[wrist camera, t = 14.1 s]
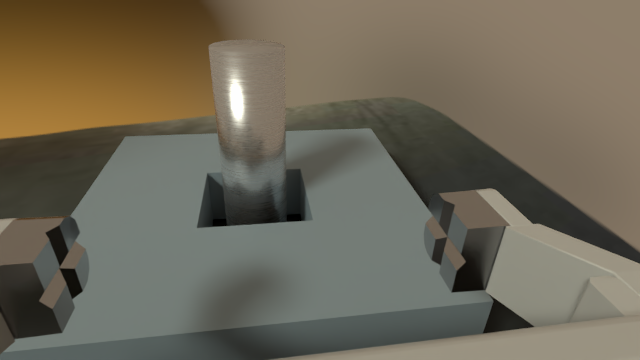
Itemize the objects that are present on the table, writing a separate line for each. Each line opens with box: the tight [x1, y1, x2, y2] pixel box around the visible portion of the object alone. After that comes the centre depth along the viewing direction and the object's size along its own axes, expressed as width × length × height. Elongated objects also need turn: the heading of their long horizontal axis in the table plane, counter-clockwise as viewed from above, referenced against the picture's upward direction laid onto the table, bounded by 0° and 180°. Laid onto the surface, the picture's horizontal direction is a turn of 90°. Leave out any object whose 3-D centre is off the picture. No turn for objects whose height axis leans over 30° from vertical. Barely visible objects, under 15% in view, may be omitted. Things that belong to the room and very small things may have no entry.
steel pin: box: [209, 40, 287, 226], centre depth 18 cm, size 3×3×10 cm
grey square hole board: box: [0, 129, 493, 360], centre depth 20 cm, size 16×16×3 cm
